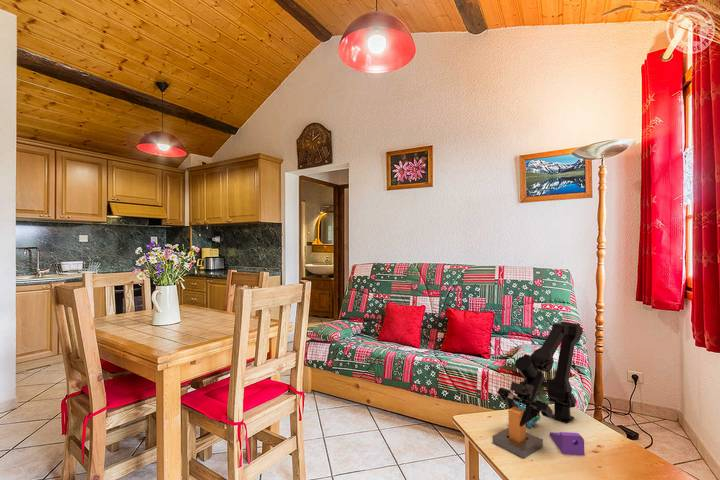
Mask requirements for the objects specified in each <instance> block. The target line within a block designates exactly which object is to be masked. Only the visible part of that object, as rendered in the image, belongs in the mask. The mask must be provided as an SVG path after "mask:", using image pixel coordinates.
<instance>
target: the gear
mask: <svg viewBox="0 0 720 480" xmlns="http://www.w3.org/2000/svg"><path fill="white" fill-rule="evenodd" d="M520 404H522V403H519V402H517V406H518V407H519V408H520V409H523V410H525V409H526V405H524V404H522V405H521V406H520ZM541 418H542V417H541V415H540V416H536V417H534V418H533V419H531V420H530V421H528V422H527V423H526V424H527V427H526V428H528V429H531V428H532V426H535V425H536V424H537V422H538V421H540V420H541ZM531 423H532V424H531Z"/></svg>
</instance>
